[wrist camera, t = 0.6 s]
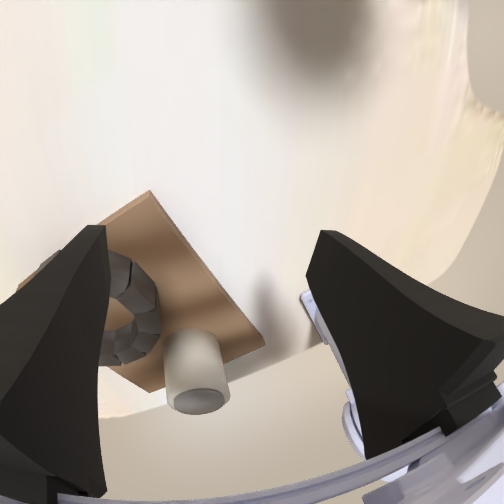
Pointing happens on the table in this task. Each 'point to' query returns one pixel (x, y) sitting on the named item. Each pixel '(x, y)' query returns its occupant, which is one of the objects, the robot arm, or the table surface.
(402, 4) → the table surface
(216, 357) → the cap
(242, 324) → the socket board
